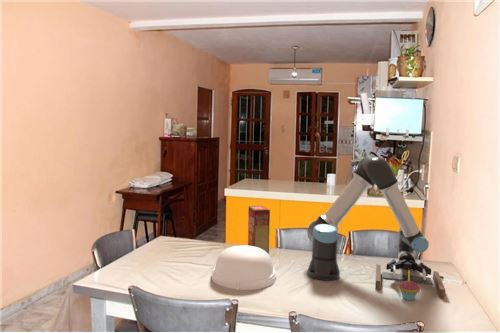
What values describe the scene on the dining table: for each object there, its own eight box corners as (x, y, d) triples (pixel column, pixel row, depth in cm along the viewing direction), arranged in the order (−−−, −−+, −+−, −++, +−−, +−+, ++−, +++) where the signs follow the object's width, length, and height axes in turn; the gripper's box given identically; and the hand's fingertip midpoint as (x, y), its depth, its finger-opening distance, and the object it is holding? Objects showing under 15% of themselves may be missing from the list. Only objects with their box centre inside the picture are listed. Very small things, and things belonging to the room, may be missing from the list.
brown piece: (375, 289, 185) (375, 280, 184) (376, 272, 207) (376, 264, 207) (444, 299, 176) (445, 289, 176) (437, 279, 199) (438, 271, 199)
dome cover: (220, 264, 213) (221, 237, 212) (279, 269, 209) (280, 241, 207) (203, 287, 182) (203, 255, 181) (271, 294, 177) (273, 261, 176)
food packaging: (246, 248, 242) (248, 205, 240) (262, 247, 244) (263, 205, 242) (253, 255, 229) (254, 210, 227) (269, 254, 232) (271, 209, 229)
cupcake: (395, 293, 181) (396, 266, 180) (414, 294, 181) (416, 267, 180) (402, 302, 172) (404, 273, 171) (423, 302, 172) (425, 274, 171)
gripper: (432, 271, 202) (438, 286, 181) (380, 264, 209) (380, 279, 188) (434, 255, 201) (440, 269, 181) (381, 250, 208) (381, 263, 188)
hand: (409, 274), depth 184 cm, fingers open, 12 cm apart
